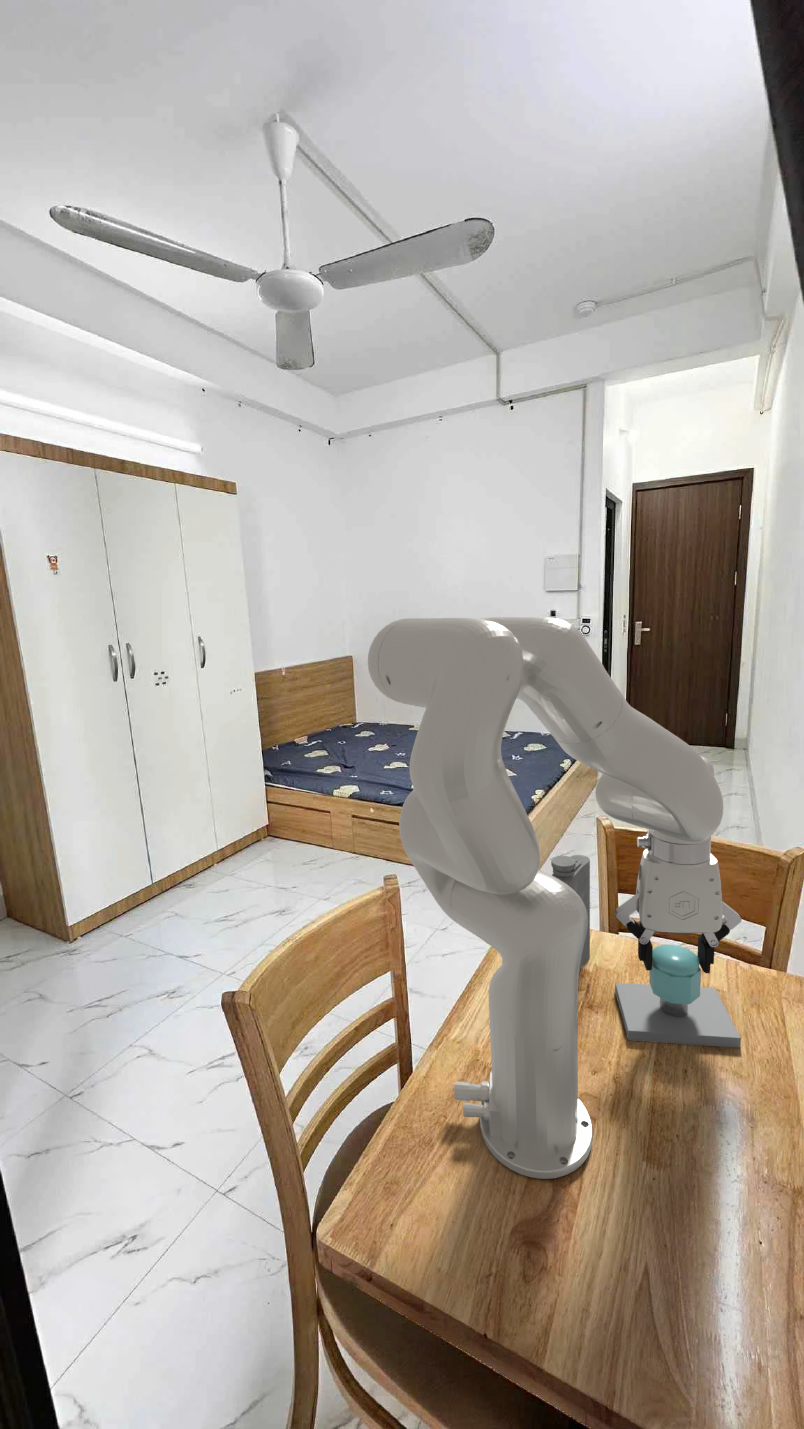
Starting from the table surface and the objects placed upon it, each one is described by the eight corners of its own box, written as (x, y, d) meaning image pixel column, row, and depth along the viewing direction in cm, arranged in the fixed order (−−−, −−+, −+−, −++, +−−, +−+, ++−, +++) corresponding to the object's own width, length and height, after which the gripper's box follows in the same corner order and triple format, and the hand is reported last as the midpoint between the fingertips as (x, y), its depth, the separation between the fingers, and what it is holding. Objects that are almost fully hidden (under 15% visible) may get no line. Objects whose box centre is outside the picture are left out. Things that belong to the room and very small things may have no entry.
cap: (656, 1002, 81) (657, 969, 80) (646, 974, 86) (647, 943, 85) (704, 1004, 79) (705, 971, 78) (690, 976, 85) (691, 945, 84)
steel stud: (663, 1016, 82) (664, 970, 81) (656, 999, 86) (658, 954, 84) (691, 1018, 82) (692, 971, 80) (683, 1000, 85) (685, 955, 84)
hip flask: (563, 1011, 86) (562, 886, 82) (536, 1003, 89) (533, 880, 85) (592, 953, 100) (592, 842, 96) (568, 947, 102) (567, 838, 98)
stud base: (628, 1040, 80) (628, 1030, 80) (615, 991, 90) (615, 982, 90) (740, 1047, 78) (740, 1038, 77) (714, 997, 87) (715, 988, 87)
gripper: (615, 857, 77) (614, 979, 80) (761, 859, 73) (753, 987, 77) (606, 834, 84) (605, 947, 87) (739, 835, 81) (732, 952, 84)
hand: (674, 964), depth 82 cm, fingers open, 6 cm apart
